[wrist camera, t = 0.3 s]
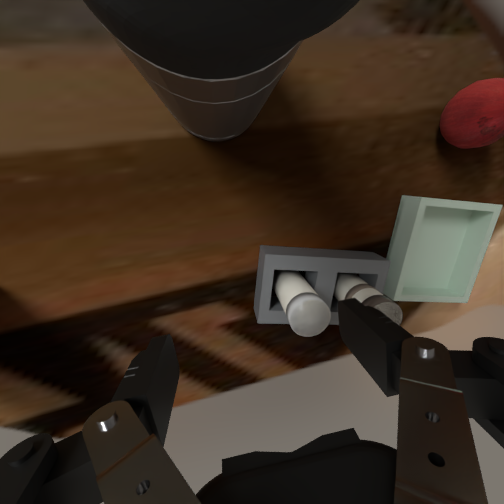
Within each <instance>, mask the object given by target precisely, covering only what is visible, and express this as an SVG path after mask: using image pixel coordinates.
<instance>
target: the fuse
mask: <svg viewBox="0 0 504 504" xmlns="http://www.w3.org/2000/svg"><path fill="white" fill-rule="evenodd" d="M272 286H273V288H274V290H275V293H276V295H277V297H278V299H279V301H280V303H281V305H282V307H283V310H284V312H285V314H286V317H287V319H288V321H289V324H290V326H291V328H292V329H293V331H294V332H295V333H297V334H298V335H300V336H304V337H311V336H315V335H317V334H319V333H321V332H322V331H323V330H325V328H326V327H327V326H328V324H329V322H330V319H331V312H330V309H329V307H328V306H327V305H326V303H325V302H324V301H323V300H322V298H321V297H320V296H318V294H317V293H316V292H315V291H314V290H313V288H312V287H311V286H310V285H309V283H308V282H307V281H306V280H305V279H304V277H303V276H302V275H301V274H300V272H299V271H297V270H276V269H275V270H274V275H273V283H272Z"/></svg>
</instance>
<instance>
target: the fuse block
mask: <svg viewBox="0 0 504 504" xmlns="http://www.w3.org/2000/svg"><path fill="white" fill-rule="evenodd" d="M390 263H391V261H390V260H388V259H386V258H384V257H382V256H380V255H378V254H376V253H374V252H365V251H348V250H332V249H315V248H298V247H282V246H265V245H260V253H259V263H258V272H257V281H256V291H255V300H254V311H255V315H256V319H257V322H258V323H269V324H289V321H288V319H287V317H286V314H285V312H284V310H283V307H282V305H281V303H280V301H279V299H278V297H275V296H271V291H272V283H273V275H274V269H276V270H297V271H306V273H305V280H306V281H307V282H308V283H309V285H310V286H311V287H312V288H313V290H314V291H315V292H316V293H317V294H318V296H320V297H321V298H322V300H323V301H324V302H325V303H326V305H327V306H328V307H329V309H330V312H331V319H330V322H329V324H331V325H339V317H338V300H337V299H336V298H333V293H334V288H335V283H336V278H337V273H338V272H340V273H359V277H360V278H361V279H362V280H364V281H365V282H366V283H368V284H369V285H371V286H373V287H374V288H376V289H377V290H378V291H379V292H380V293H382V294H383V290H384V286H385V282H386V278H387V275H388V271H389V267H390Z"/></svg>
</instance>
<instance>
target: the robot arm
mask: <svg viewBox="0 0 504 504" xmlns="http://www.w3.org/2000/svg"><path fill="white" fill-rule="evenodd" d="M83 1H84V2H85V4H86V5H87V6H88V8H89V9H90V10H91V11H92V12H93V14H94V15H95V16H96V17H97V18H98V20H99V21H100V22H101V24H102V25H103V26H104V27H105V29H106V30H107V31H108V33H109V34H110V35H111V36H112V38H113V39H114V40H115V42H116V43H117V44H118V45H119V47H120V48H121V49H122V50H123V52H124V53H125V54H126V56H127V57H128V58H129V59H130V61H131V62H132V63H133V64H134V65H135V67H136V68H137V69H138V71H139V72H140V73H141V75H142V76H143V77H144V78H145V80H146V81H147V82H148V84H149V85H150V86H151V87H152V89H153V90H154V91H155V93H156V94H157V95H158V97H159V98H160V99H161V100H162V102H163V103H164V104H165V106H166V107H167V108H168V110H169V111H170V112H171V113H172V115H173V116H174V117H175V119H176V120H177V121H178V122H179V123H180V124H181V125H182V126H183V128H184V129H186V130H187V131H188V132H190V133H191V134H193V135H195V136H197V137H199V138H201V139H204V140H208V141H225V140H230V139H233V138H235V137H237V136H239V135H240V134H242V133H243V132H244V131H245V130H247V129H248V128H249V126H250V125H251V124H252V122H253V121H254V120H255V118H256V117H257V115H258V113H259V112H260V110H261V109H262V107H263V106H264V104H265V102H266V101H267V99H268V97H269V96H270V94H271V92H272V91H273V89H274V88H275V86H276V84H277V83H278V81H279V79H280V78H281V76H282V75H283V73H284V71H285V70H286V68H287V66H288V65H289V63H290V62H291V60H292V58H293V57H294V55H295V53H296V52H297V50H298V48H299V46H300V45H301V43H302V41H303V40H304V39H307V38H309V37H311V36H313V35H315V34H317V33H319V32H320V31H322V30H324V29H325V28H327V27H329V26H330V25H332V24H333V23H334V22H336V21H337V20H339V19H340V18H341V17H342V16H343V15H345V14H346V13H347V12H348V11H349V10H350V9H351V8H353V7H354V6H355V5H356V4H357V2H358V1H359V0H83ZM338 317H339V330H340V335H341V338H342V340H343V342H344V343H345V344H346V346H347V347H348V348H349V350H350V351H351V352H352V353H353V355H354V356H355V357H356V358H357V360H358V361H359V362H360V363H361V365H362V366H363V367H364V368H365V370H366V371H367V372H368V373H369V375H370V376H371V377H372V378H373V380H374V381H375V382H376V383H377V384H378V386H379V387H380V388H381V390H382V391H383V392H384V394H385V395H386V396H387V397H389V396H393V395H398V394H399V410H398V433H397V434H398V435H397V450H396V449H394V448H392V447H390V446H387V445H384V444H382V443H378V442H374V441H367V440H360V439H359V437H358V435H357V433H356V432H355V430H354V428H351V429H347V430H343V431H339V432H334V433H330V434H326V435H322V436H320V437H318V438H317V439H315V440H313V441H311V442H310V443H308V444H306V445H304V446H302V447H301V448H299V449H297V450H295V451H293V452H287V453H286V452H258V451H255V452H251V453H247V454H243V455H238V456H234V457H230V458H226V459H222V473H221V474H219V475H218V476H216V477H215V478H214V479H212V480H211V481H209V482H208V483H207V484H206V485H205V486H204V487H203V488H201V490H199V492H198V493H197V494H196V495H195V493H194V492H193V491H192V489H191V488H190V486H189V485H188V483H187V482H186V480H185V479H184V477H183V476H182V474H181V473H180V471H179V470H178V468H177V467H176V466H175V464H174V463H173V461H172V460H171V458H170V457H169V455H168V454H167V452H166V451H165V449H164V448H163V447H164V442H165V438H166V433H167V429H168V424H169V420H170V416H171V411H172V407H173V402H174V398H175V393H176V389H177V384H178V380H179V363H178V360H177V356H176V352H175V348H174V345H173V341H172V338H171V336H170V334H168V335H163V336H158V337H153V338H152V339H151V341H150V343H149V345H148V347H147V350H144V351H141V352H140V353H139V354H138V355H137V356H136V357H135V358H134V359H133V360H132V362H131V364H130V365H129V367H128V370H127V371H126V373H125V375H124V378H123V379H122V381H121V383H120V385H119V387H118V389H117V391H116V392H115V394H114V396H113V398H112V400H111V402H110V403H109V404H106V405H105V406H103V407H101V408H100V409H98V410H97V411H96V412H94V413H93V414H92V415H91V416H90V417H89V418H88V420H87V421H86V422H85V424H84V426H83V429H82V431H80V432H78V433H76V434H74V435H72V436H70V437H67V438H65V439H63V440H61V441H59V442H57V443H54V441H53V439H52V437H51V435H49V434H46V433H44V434H38V435H34V436H32V437H30V438H27V439H26V440H24V441H22V442H20V443H19V444H17V445H16V446H14V447H13V448H12V449H10V450H9V451H8V452H7V453H6V454H5V455H4V456H3V457H2V458H1V459H0V504H100V503H102V502H104V504H488V500H487V496H486V492H485V487H484V483H483V479H482V474H481V470H480V466H479V461H478V457H477V453H476V448H475V444H474V440H473V435H472V431H471V427H470V422H469V418H473V419H475V421H476V422H477V423H478V424H479V425H480V426H481V427H482V428H483V429H484V430H486V432H488V433H489V434H490V435H491V436H492V437H493V438H494V439H495V440H496V441H497V442H498V443H499V444H500V445H501V446H502V447H503V448H504V339H500V338H493V337H481V338H477V339H475V340H474V341H473V348H472V351H458V350H457V351H456V350H448V349H447V348H446V347H445V346H444V345H443V344H441V343H439V342H437V341H435V340H432V339H429V338H424V337H414V336H412V335H411V334H410V333H409V332H407V331H406V330H405V329H403V328H402V327H401V326H399V325H398V324H397V323H396V322H393V320H392V319H390V318H389V317H387V316H386V315H385V314H384V313H383V312H381V311H380V310H378V309H376V308H373V307H371V306H365V305H363V304H362V303H361V302H360V301H358V300H357V299H356V298H350V299H345V300H340V301H338Z"/></svg>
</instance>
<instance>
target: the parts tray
mask: <svg viewBox="0 0 504 504" xmlns="http://www.w3.org/2000/svg"><path fill="white" fill-rule="evenodd" d="M502 206H503V205H497V204H487V203H478V202H468V201H457V200H447V199H436V198H426V197H415V196H405V195H402V198H401V202H400V206H399V210H398V214H397V218H396V222H395V226H394V230H393V233H392V237H391V241H390V245H389V249H388V253H387V257H386V259H388V260H390V261H391V263H390V267H389V271H388V275H387V278H386V282H385V286H384V290H383V294H385V295H386V296H387V297H389V298H390V299H392V300H393V301H417V302H449V303H467V302H468V299H469V296H470V294H471V291H472V288H473V285H474V283H475V280H476V277H477V274H478V272H479V269H480V266H481V263H482V261H483V258H484V255H485V252H486V250H487V247H488V244H489V241H490V239H491V236H492V233H493V230H494V228H495V225H496V222H497V219H498V217H499V214H500V211H501V208H502Z"/></svg>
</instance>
